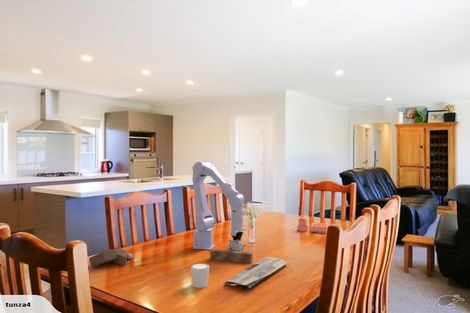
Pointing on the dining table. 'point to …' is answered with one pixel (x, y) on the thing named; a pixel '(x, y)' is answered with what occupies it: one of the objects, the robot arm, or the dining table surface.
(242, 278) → the newspaper
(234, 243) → the game die
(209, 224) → the robot arm
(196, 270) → the white short cylinder
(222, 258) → the batten
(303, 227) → the pottery
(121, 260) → the grey angled block
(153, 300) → the dining table surface
